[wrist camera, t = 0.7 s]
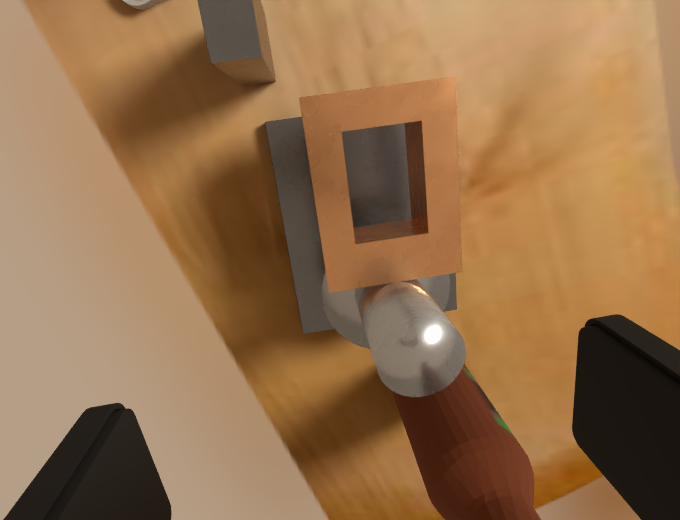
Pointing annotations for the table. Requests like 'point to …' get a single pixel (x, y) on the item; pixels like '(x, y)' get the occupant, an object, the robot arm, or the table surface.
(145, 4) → the adjustable wrench
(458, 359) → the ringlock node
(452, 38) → the table surface
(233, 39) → the grey rectangular block
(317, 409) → the table surface
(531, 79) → the table surface
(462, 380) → the bottle
